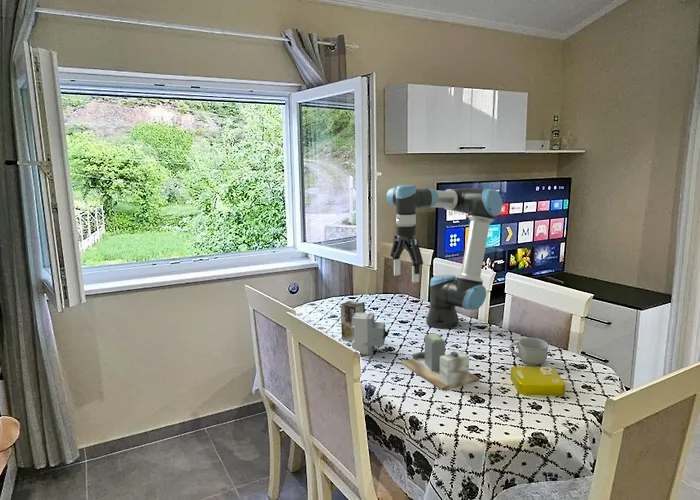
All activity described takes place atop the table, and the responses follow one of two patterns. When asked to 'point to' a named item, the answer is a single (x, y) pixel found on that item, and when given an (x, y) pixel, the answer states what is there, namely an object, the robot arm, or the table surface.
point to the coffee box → (349, 318)
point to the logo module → (434, 351)
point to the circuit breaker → (367, 333)
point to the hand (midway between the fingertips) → (406, 278)
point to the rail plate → (433, 376)
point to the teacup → (531, 350)
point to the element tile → (537, 381)
